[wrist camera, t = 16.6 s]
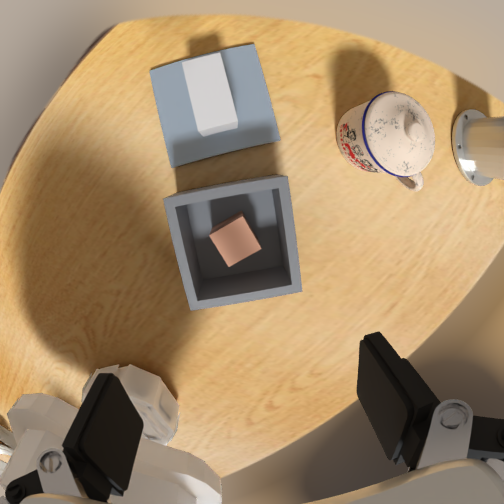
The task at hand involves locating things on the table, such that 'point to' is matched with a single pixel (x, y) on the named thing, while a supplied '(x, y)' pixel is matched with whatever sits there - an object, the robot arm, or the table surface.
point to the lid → (213, 104)
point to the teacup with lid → (388, 137)
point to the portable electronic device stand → (8, 439)
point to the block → (235, 238)
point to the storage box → (250, 268)
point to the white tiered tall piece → (149, 450)
